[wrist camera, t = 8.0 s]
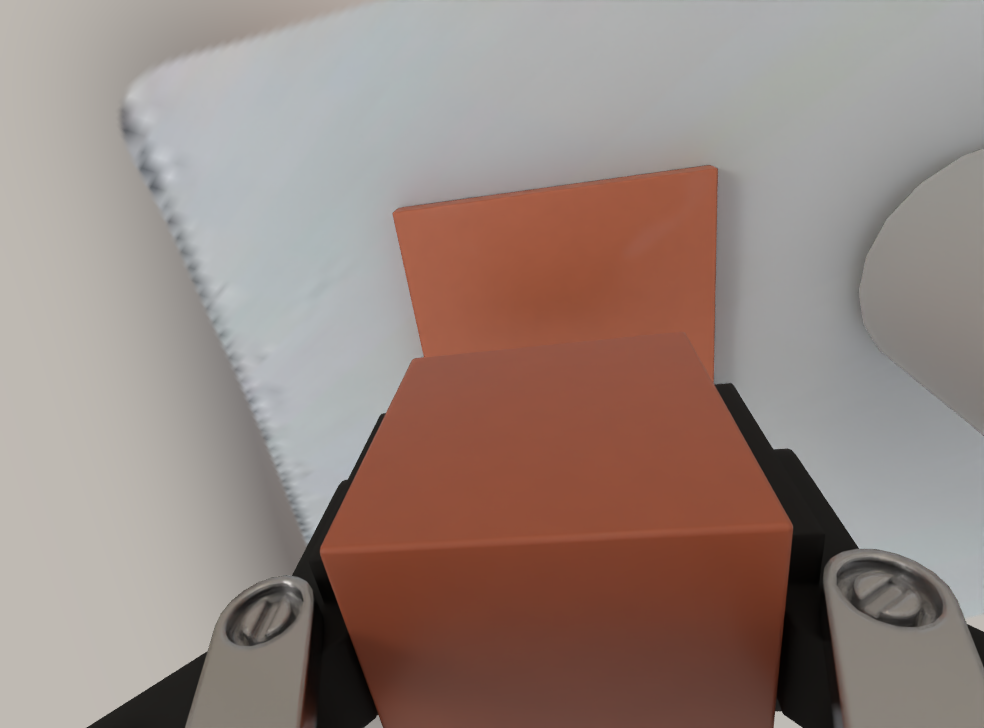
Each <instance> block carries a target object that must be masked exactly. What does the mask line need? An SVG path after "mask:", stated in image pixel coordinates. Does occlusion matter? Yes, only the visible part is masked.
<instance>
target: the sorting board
mask: <svg viewBox="0 0 984 728" xmlns="http://www.w3.org/2000/svg"><path fill="white" fill-rule="evenodd" d="M717 184H718V169H717V168H715V167H713V166H711V165H707V166H699V167H692V168H685V169H678V170H670V171H663V172H656V173H649V174H641V175H634V176H627V177H620V178H612V179H605V180H598V181H591V182H583V183H576V184H569V185H562V186H554V187H547V188H540V189H532V190H525V191H518V192H511V193H503V194H496V195H489V196H482V197H474V198H467V199H460V200H453V201H445V202H438V203H431V204H424V205H416V206H409V207H402V208H398V209H397V210H396V211H394V212H393V218H394V223H395V227H396V232H397V236H398V241H399V245H400V250H401V255H402V259H403V264H404V268H405V273H406V277H407V282H408V286H409V291H410V296H411V300H412V305H413V309H414V314H415V318H416V323H417V327H418V332H419V337H420V341H421V346H422V350H423V355H424V357H433V356H443V355H453V354H463V353H473V352H483V351H493V350H503V349H513V348H523V347H533V346H543V345H553V344H563V343H573V342H583V341H593V340H603V339H613V338H623V337H633V336H643V335H653V334H663V333H673V332H685V333H686V335H687V337H688V338H689V340H690V342H691V344H692V346H693V347H694V349H695V351H696V353H697V355H698V356H699V358H700V360H701V362H702V364H703V365H704V367H705V369H706V371H707V372H708V374H709V376H710V378H711V380H712V381H713V383H714V335H715V285H716V234H717Z"/></svg>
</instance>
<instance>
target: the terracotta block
mask: <svg viewBox="0 0 984 728" xmlns="http://www.w3.org/2000/svg"><path fill="white" fill-rule="evenodd" d="M792 534H793V525H792V523H791V521H790V519H789V517H788V516H787V514H786V512H785V510H784V509H783V507H782V505H781V503H780V501H779V500H778V498H777V496H776V494H775V492H774V491H773V489H772V487H771V485H770V483H769V482H768V480H767V478H766V476H765V475H764V473H763V471H762V469H761V467H760V466H759V464H758V462H757V460H756V458H755V457H754V455H753V453H752V451H751V449H750V448H749V446H748V444H747V442H746V440H745V439H744V437H743V435H742V433H741V432H740V430H739V428H738V426H737V424H736V423H735V421H734V419H733V417H732V415H731V414H730V412H729V410H728V408H727V406H726V405H725V403H724V401H723V399H722V398H721V396H720V394H719V392H718V390H717V389H716V387H715V385H714V383H713V381H712V380H711V378H710V376H709V374H708V372H707V371H706V369H705V367H704V365H703V364H702V362H701V360H700V358H699V356H698V355H697V353H696V351H695V349H694V347H693V346H692V344H691V342H690V340H689V338H688V337H687V335H686V333H685V332H673V333H663V334H653V335H643V336H633V337H623V338H613V339H603V340H593V341H583V342H573V343H563V344H553V345H543V346H533V347H523V348H513V349H503V350H493V351H483V352H473V353H463V354H453V355H443V356H433V357H423V358H415V359H413V360H412V361H411V363H410V365H409V367H408V369H407V371H406V373H405V375H404V378H403V380H402V382H401V384H400V386H399V388H398V390H397V392H396V394H395V396H394V398H393V400H392V402H391V404H390V406H389V408H388V410H387V412H386V414H385V416H384V418H383V420H382V422H381V425H380V427H379V429H378V431H377V433H376V435H375V437H374V439H373V441H372V443H371V445H370V447H369V449H368V451H367V453H366V455H365V457H364V459H363V461H362V463H361V465H360V467H359V469H358V472H357V474H356V476H355V478H354V480H353V482H352V484H351V486H350V488H349V490H348V492H347V494H346V496H345V498H344V500H343V502H342V504H341V506H340V508H339V510H338V512H337V514H336V516H335V519H334V521H333V523H332V525H331V527H330V529H329V531H328V533H327V535H326V537H325V539H324V541H323V543H322V545H321V547H320V556H321V559H322V561H323V564H324V567H325V570H326V572H327V575H328V578H329V580H330V583H331V586H332V589H333V591H334V594H335V597H336V600H337V602H338V605H339V608H340V611H341V613H342V616H343V619H344V622H345V624H346V627H347V630H348V632H349V635H350V638H351V641H352V643H353V646H354V649H355V652H356V654H357V657H358V660H359V663H360V665H361V668H362V671H363V674H364V676H365V679H366V682H367V684H368V687H369V690H370V693H371V695H372V698H373V701H374V704H375V706H376V709H377V712H378V715H379V717H380V720H381V723H382V726H383V728H773V727H774V717H775V716H774V715H775V707H776V697H777V686H778V676H779V666H780V656H781V646H782V636H783V626H784V616H785V605H786V595H787V585H788V575H789V565H790V555H791V545H792Z"/></svg>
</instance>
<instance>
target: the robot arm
mask: <svg viewBox="0 0 984 728" xmlns="http://www.w3.org/2000/svg"><path fill="white" fill-rule="evenodd" d="M715 387H716V389H717V390H718V392H719V394H720V396H721V398H722V399H723V401H724V403H725V405H726V406H727V408H728V410H729V412H730V414H731V415H732V417H733V419H734V421H735V423H736V424H737V426H738V428H739V430H740V432H741V433H742V435H743V437H744V439H745V440H746V442H747V444H748V446H749V448H750V449H751V451H752V453H753V455H754V457H755V458H756V460H757V462H758V464H759V466H760V467H761V469H762V471H763V473H764V475H765V476H766V478H767V480H768V482H769V483H770V485H771V487H772V489H773V491H774V492H775V494H776V496H777V498H778V500H779V501H780V503H781V505H782V507H783V509H784V510H785V512H786V514H787V516H788V517H789V519H790V521H791V523H792V525H793V534H792V545H791V555H790V565H789V575H788V585H787V595H786V605H785V616H784V626H783V636H782V646H781V656H780V666H779V676H778V686H777V697H776V707H775V711H782V713H783V714H784V715H785V716H787V717H788V718H790V719H791V720H793V721H795V723H797V724H798V725H800V726H801V727H803V728H984V632H983V631H981V630H979V629H977V628H974V627H972V626H970V625H968V624H967V623H966V621H965V618H964V616H963V613H962V611H961V608H960V606H959V603H958V600H957V599H956V597H955V596H954V594H953V592H952V591H951V589H950V587H949V586H948V585H947V584H946V583H945V582H944V581H943V580H942V579H940V578H939V577H938V576H937V575H936V574H935V573H934V572H932V571H931V570H929V569H927V568H926V567H924V566H922V565H921V564H919V563H918V562H916V561H913V560H911V559H908V558H906V557H903V556H901V555H898V554H895V553H891V552H886V551H882V550H877V549H859V548H858V546H857V545H856V543H855V542H854V540H853V539H852V537H851V536H850V534H849V533H848V532H847V530H846V529H845V527H844V526H843V524H842V523H841V521H840V520H839V518H838V517H837V515H836V514H835V512H834V511H833V509H832V508H831V506H830V505H829V503H828V502H827V500H826V499H825V497H824V496H823V494H822V493H821V491H820V490H819V488H818V487H817V485H816V484H815V482H814V481H813V479H812V478H811V477H810V475H809V474H808V472H807V471H806V469H805V468H804V466H803V465H802V463H801V462H800V460H799V459H798V457H797V456H796V454H795V453H794V452H793V451H792V450H790V449H775V450H773V448H772V447H771V445H770V443H769V442H768V440H767V439H766V437H765V435H764V434H763V432H762V431H761V429H760V427H759V426H758V424H757V422H756V421H755V419H754V418H753V416H752V414H751V413H750V411H749V410H748V408H747V406H746V405H745V403H744V402H743V400H742V398H741V397H740V395H739V393H738V392H737V390H736V389H735V387H734V386H733V384H732V383H727V384H715ZM385 414H386V413H383V414H381V415H380V417H379V419H378V421H377V423H376V425H375V427H374V429H373V431H372V433H371V435H370V437H369V439H368V441H367V443H366V445H365V447H364V449H363V451H362V453H361V455H360V457H359V459H358V461H357V463H356V465H355V467H354V469H353V470H352V472H351V474H350V476H349V478H348V480H344V481H342V482H341V483H340V485H339V486H338V488H337V490H336V492H335V494H334V495H333V497H332V499H331V501H330V503H329V505H328V507H327V509H326V511H325V513H324V515H323V517H322V519H321V521H320V522H319V524H318V526H317V528H316V530H315V532H314V534H313V536H312V538H311V540H310V542H309V544H308V546H307V548H306V550H305V552H304V554H303V555H302V558H301V559H300V561H299V563H298V565H297V567H296V569H295V571H294V573H293V575H292V576H287V575H286V576H278V577H272V578H269V579H266V580H264V581H261V582H258V583H256V584H255V585H253V586H251V587H249V588H248V589H246V590H244V591H243V592H242V593H240V594H239V595H238V596H237V597H235V598H234V599H233V600H232V601H231V602H230V603H229V604H228V605H227V607H226V608H225V609H224V610H223V612H222V613H221V615H220V617H219V619H218V621H217V623H216V625H215V628H214V631H213V635H212V638H211V641H210V645H209V648H208V651H207V652H206V653H204V654H202V655H201V656H199V657H198V658H196V659H195V660H193V661H191V662H190V663H189V664H187V665H185V666H183V667H182V668H180V669H179V670H177V671H176V672H174V673H172V674H171V675H169V676H168V677H166V678H164V679H163V680H162V681H160V682H158V683H157V684H155V685H153V686H152V687H150V688H149V689H147V690H145V691H144V692H142V693H141V694H139V695H138V696H136V697H134V698H133V699H131V700H130V701H128V702H126V703H125V704H123V705H122V706H120V707H119V708H117V709H115V710H114V711H112V712H111V713H109V714H107V715H106V716H104V717H103V718H101V719H100V720H98V721H96V722H95V723H93V724H92V725H90V726H89V727H87V728H365V726H366V725H368V724H369V723H370V722H371V721H372V720H374V719H375V718H376V716H377V715H378V712H377V709H376V706H375V704H374V701H373V698H372V695H371V693H370V690H369V687H368V684H367V682H366V679H365V676H364V674H363V671H362V668H361V665H360V663H359V660H358V657H357V654H356V652H355V649H354V646H353V643H352V641H351V638H350V635H349V632H348V630H347V627H346V624H345V622H344V619H343V616H342V613H341V611H340V608H339V605H338V602H337V600H336V597H335V594H334V591H333V589H332V586H331V583H330V580H329V578H328V575H327V572H326V570H325V567H324V564H323V561H322V559H321V556H320V547H321V545H322V543H323V541H324V539H325V537H326V535H327V533H328V531H329V529H330V527H331V525H332V523H333V521H334V519H335V516H336V514H337V512H338V510H339V508H340V506H341V504H342V502H343V500H344V498H345V496H346V494H347V492H348V490H349V488H350V486H351V484H352V482H353V480H354V478H355V476H356V474H357V472H358V469H359V467H360V465H361V463H362V461H363V459H364V457H365V455H366V453H367V451H368V449H369V447H370V445H371V443H372V441H373V439H374V437H375V435H376V433H377V431H378V429H379V427H380V425H381V422H382V420H383V418H384V416H385Z"/></svg>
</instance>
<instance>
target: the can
mask: <svg viewBox="0 0 984 728" xmlns="http://www.w3.org/2000/svg"><path fill="white" fill-rule="evenodd" d="M859 299H860V305H861V311H862V318H863V324H864V327H865V328H866V330H867V331H868V333H869V334H870V336H871V338H872V339H873V341H874V342H875V344H876V345H877V347H878V349H879V350H880V352H882V353H883V354H884V355H885V356H887V357H888V358H889V359H890V360H891V361H893V362H894V363H895V364H896V365H898V366H899V367H900V368H901V369H902V370H904V371H905V372H906V373H907V374H909V375H910V376H911V377H912V378H913V379H915V380H916V381H917V382H918V383H920V384H921V385H922V386H923V387H925V388H926V389H927V390H928V391H929V392H931V393H932V394H933V395H934V396H936V397H937V398H938V399H939V400H940V401H942V402H943V403H944V404H945V405H947V406H948V407H949V408H950V409H952V410H953V411H954V412H955V413H956V414H958V415H959V416H960V417H961V418H963V419H964V420H965V421H966V422H967V423H969V424H970V425H971V426H972V427H974V428H975V429H976V430H977V431H979V432H980V433H981V434H982V435H983V436H984V148H983V149H981V150H978V151H975V152H972V153H969V154H966V155H964V156H962V157H960V158H959V159H957V160H956V161H954V162H953V163H951V164H950V165H948V166H947V167H945V168H943V169H942V170H940V171H939V172H937V173H936V174H934V175H933V176H931V177H930V178H928V179H927V180H925V181H923V182H922V183H920V184H919V185H918V187H917V188H916V189H915V190H914V191H913V192H912V193H911V194H910V195H909V196H908V197H907V198H906V199H905V200H904V201H903V202H902V203H901V204H900V205H899V206H898V208H897V209H896V210H895V211H894V212H893V213H892V214H891V215H890V216H889V217H888V218H887V220H886V221H885V223H884V225H883V227H882V229H881V230H880V232H879V234H878V236H877V238H876V239H875V241H874V243H873V245H872V247H871V248H870V250H869V252H868V254H867V256H866V260H865V264H864V269H863V274H862V279H861V283H860V288H859Z"/></svg>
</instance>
